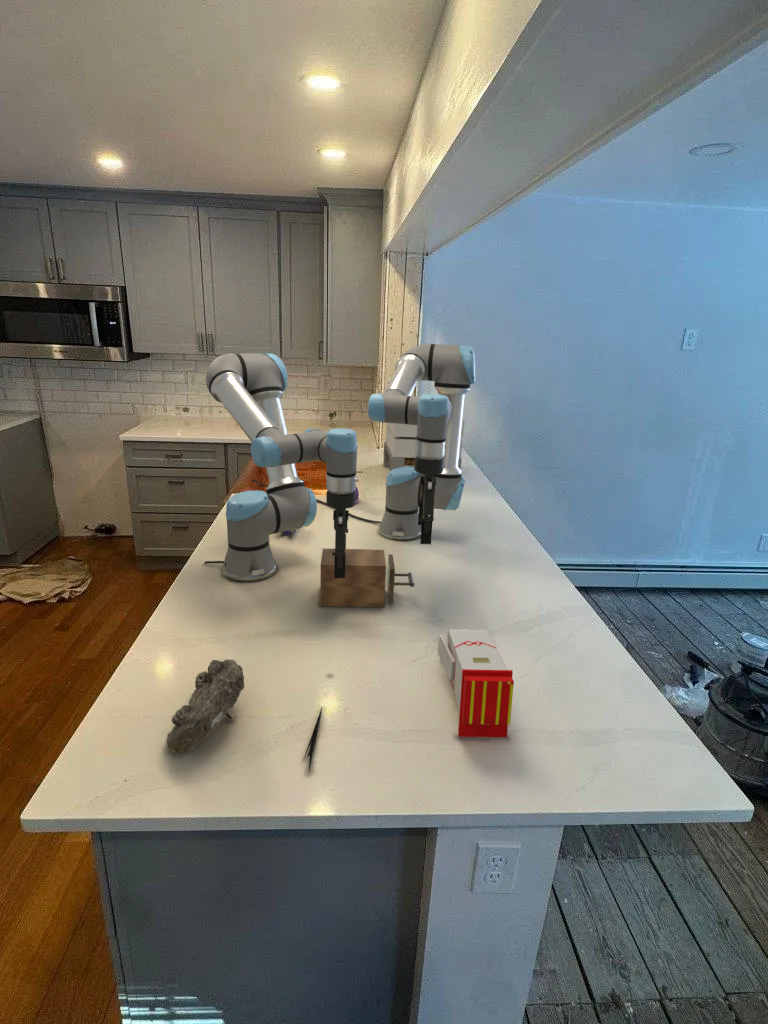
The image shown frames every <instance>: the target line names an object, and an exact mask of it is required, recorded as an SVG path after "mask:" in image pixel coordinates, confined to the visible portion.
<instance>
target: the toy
mask: <svg viewBox="0 0 768 1024" xmlns="http://www.w3.org/2000/svg"><path fill="white" fill-rule="evenodd" d="M446 640H447V643H446V641H445V639H444V636H443V635H442V634H439V637H438V646H437V656H438V657H439V659H440V661H441V663H442V666H443V668H444V670H445V672H446V674H447V677H448V679H449V681H450V684H451V687H452V690H453V693H454V697H455V701H456V705H457V708H458V711H459V714H458V715H459V716H458V730H457V731H458V732H457V737H458V738H508V731H509V726H510V725H511V717H512V707H513V697H514V696H513V695H514V684H515V680H514V679H513V673H514V671H513V670H512V669H508V667H507V665H506V662H505V661H504V659H503V658H502V655H501V653H500V651H499V649H498V647H497V643H496V639H495V637H494V635H493V634H491V632H490V631H489V629H467V628H466V629H465V628H463V629H461V628H460V629H459V628H448V630H447V639H446Z"/></svg>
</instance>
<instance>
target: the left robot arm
mask: <svg viewBox="0 0 768 1024" xmlns="http://www.w3.org/2000/svg"><path fill="white" fill-rule="evenodd" d="M288 377H289V376H288V372H287V368H286V365H285V364H284V362H283V360H282V359H281V358H280V357H279V356H277V355H276V354H274V353H266V352H259V353H258V352H257V353H255V352H254V353H253V352H251V353H224V354H222V355H219V356H218V357H216V358H215V359H214V360H212V362H211V363H210V364H209V366H208V368H207V371H206V374H205V384H206V387H207V390H208V392H209V394H210V395H211V397H212V398H213V399H214V400H215V401H216V402H218V403H220V404H222V405H223V407H225V409H226V410H227V412H228V413H229V414H230V416H231V417H232V419H233V420H234V421H235V422H236V423H237V424H238V426H239V427H240V428H241V430H242V431H243V433H244V434H245V436H246V437H247V438H248V439H249V441H250V442H251V443H250V455H251V457H252V461H253V463H254V464H255V465H256V466H257V467H258V468H265V470H266V475H267V478H268V484H267V485H268V487H266V489H265V491H263V490H260V489H259V490H258V489H254V490H251V489H250V490H245V491H241V492H237V493H235V494H233V495H232V496H230V498H229V499H228V500H227V501H226V506H225V508H226V509H225V518H226V530H227V531H226V532H227V550H226V554H225V556H224V560H207V561H206V560H205V561H204V562H203V563H204V565H208V564H222V573H223V576H224V577H225V578H227V579H229V580H232V581H234V582H235V581H236V582H246V583H248V582H258V581H262V580H265V579H268V578H269V577H271V576H273V575H274V574H275V573H276V571H277V562H276V559H275V558H274V556H273V552H272V549H271V546H270V536H271V535H274V534H281V532H285V531H290V530H294V529H295V530H300V529H302V528H305V527H309V526H310V525H312V524H313V522H314V521H315V519H316V516H317V513H318V501H316V499H317V497H316V495H315V493H314V491H313V490H312V489H311V488H309V487H306V485H305V481H304V480H303V479H301V478H299V476H298V472H297V468H296V467H297V466H296V464H300V463H301V464H302V463H308V462H316V461H318V462H319V461H320V462H322V463H324V464H325V465H326V474H325V488H326V490H327V491H326V493H325V494H326V498H325V499H326V500H325V501H326V502H325V503H327V505H326V506H327V507H329V508H332V509H333V510H332V511H333V512H332V513H333V515H332V519H333V530H334V531H335V533H334V534H335V536H334V549H335V552H332V556H335V570H334V578H345V549H347V534H349V528H348V522H349V516H350V515H349V513H350V512H349V509H351V508H354V507H355V506H356V504H357V503H356V492H355V491H354V490H355V489H356V487H357V483H358V482H359V478H358V477H357V461H358V439H357V438H358V437H357V432H356V431H355V430H354V429H350V428H341V427H340V428H336V427H335V428H331V429H329V430H328V431H324V430H323V429H320V428H307V429H306V430H304V431H303V432H298V433H297V432H296V433H288V429H287V425H286V420H285V416H284V412H283V406H282V403H281V400H282V398H283V397H284V395H285V393H284V391H285V390H286V389H287V387H288V379H289V378H288Z"/></svg>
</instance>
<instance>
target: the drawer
mask: <svg viewBox="0 0 768 1024" xmlns="http://www.w3.org/2000/svg"><path fill="white" fill-rule="evenodd" d="M395 577H407V579H408V582H399V581H397V582H395ZM395 586H407V587H410V588H413V587H415V581H414V577H413V573H412V572H411V571H410V572H408V573H396V565H395V560H394V554H393V553H392V554H391V553H388V555H387V570H386V593H387V601H388V603H390V604H391V603H392V604H393V603H394V593H395Z"/></svg>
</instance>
